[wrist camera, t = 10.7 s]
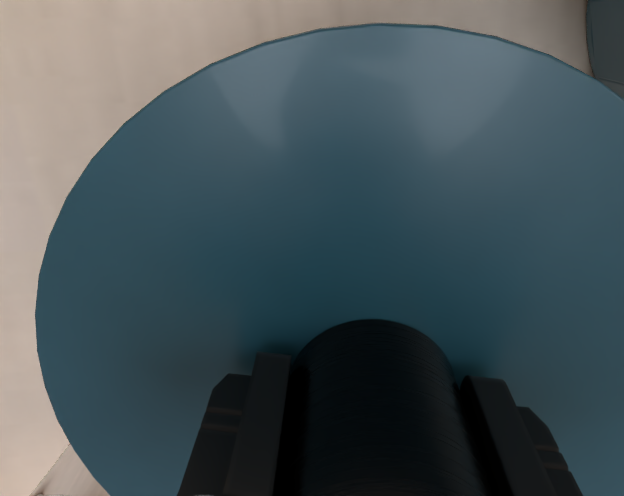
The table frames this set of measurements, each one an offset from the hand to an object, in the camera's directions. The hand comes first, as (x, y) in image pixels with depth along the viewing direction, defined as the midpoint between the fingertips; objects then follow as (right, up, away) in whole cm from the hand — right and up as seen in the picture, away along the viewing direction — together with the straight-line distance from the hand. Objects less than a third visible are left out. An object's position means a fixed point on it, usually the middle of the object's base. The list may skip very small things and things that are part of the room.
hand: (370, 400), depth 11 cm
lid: (0, 0, +1) cm, 1 cm away
